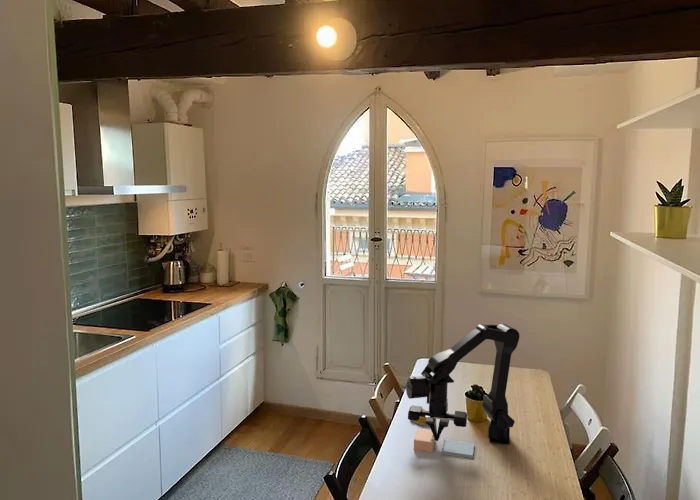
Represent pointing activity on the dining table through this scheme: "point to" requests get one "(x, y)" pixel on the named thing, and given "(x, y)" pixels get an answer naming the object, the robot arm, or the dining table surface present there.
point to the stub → (424, 440)
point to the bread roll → (421, 420)
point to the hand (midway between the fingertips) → (436, 440)
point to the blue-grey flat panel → (457, 448)
